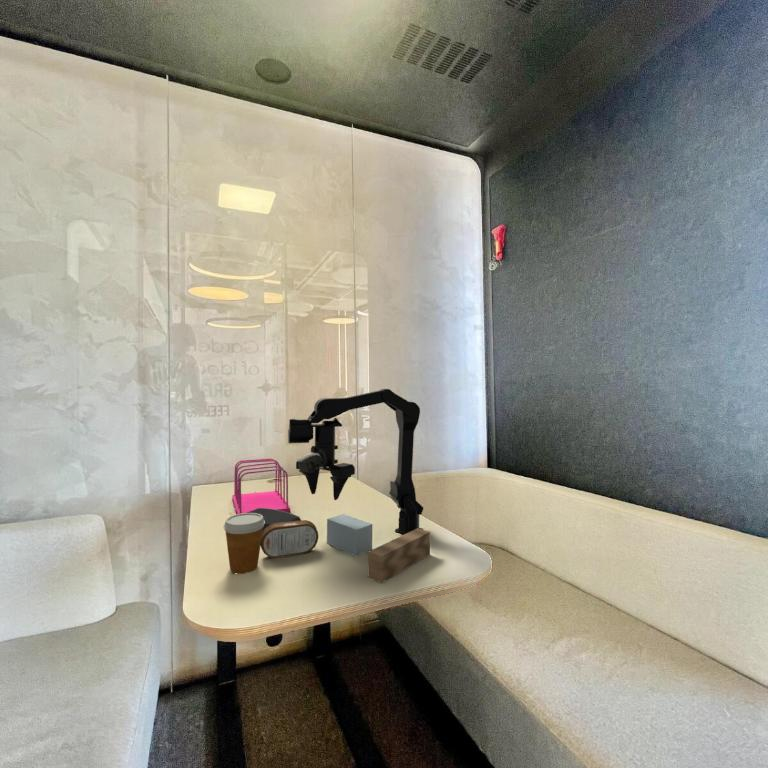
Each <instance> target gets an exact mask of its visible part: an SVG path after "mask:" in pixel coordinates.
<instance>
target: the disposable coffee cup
mask: <svg viewBox="0 0 768 768" xmlns="http://www.w3.org/2000/svg"><path fill="white" fill-rule="evenodd" d="M264 524H265V521H264V519H263V516H262V515H261V514H257V513H242V514H233V515H230V516H229V517H227V518H226V519H225V522H224V524H223V525H222V527H223V529H224V531H225V537H226V545H227V554H228V555H227V556H228V562H229V570H230V572H231V573H232V572H233V574H235V573H237V575H243V574H248V573H252V572H254V571H255V570H256V569H258V567H259V559H260V550H261V546H260V545H261V538H262V530H263V526H264Z"/></svg>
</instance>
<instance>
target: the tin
mask: <svg viewBox="0 0 768 768" xmlns="http://www.w3.org/2000/svg"><path fill="white" fill-rule="evenodd" d="M318 541H319V531H318V529H317V527H316V525H315V524H314V523H313V522H312V521H310V520H306V519H305V520H304V519H301V521H292V522H282V523H274V524H271V525H269V526H268V527H267V528H265V529H264V531H263V532H262V538H261V545H260V550H262V552H263V554H264V555H265V556H267V557H269V558H272V559H273V558H274V559H278V558H283V557H291V556H298V555H304V554H308V553H309V552H311V551H312V550H314V548H315V547H316V546H317V543H318Z"/></svg>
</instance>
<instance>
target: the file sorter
mask: <svg viewBox="0 0 768 768" xmlns="http://www.w3.org/2000/svg"><path fill="white" fill-rule="evenodd" d="M250 463H253V464H250ZM255 463H256V464H255ZM243 464H247V465H243ZM267 465H268V466H267ZM269 465H271V466H269ZM256 466H259V467H256ZM241 469H242V470H241ZM260 469H261V470H260ZM240 470H241V471H240ZM245 471H246V472H245ZM238 472H239V473H238ZM265 472H275V480H274V481H275V484H274V485H275V489H274V490H272V491H271V490H269V491H260V492H259V491H258V492H250V493H249V492H248V493H242V479H243V477H244V476H246V475H249V474H256V473H265ZM288 477H289V476H288V472H287V470H286V469H284V467H282V466H281V465H280V463H279V462H278V461H277V460H275V459H274V458H258V459H257V458H256V459H245V460H243V459H242V460H239V461H238V462H236V464H235V465H234V484H233V485H234V488H233V489H234V494H232V497H231V499H232V503H233V505H234V506H233V507H234V510H235V513H236V514H242V513H247V512H250V511H252V510H255V509H258V508H267V509H275V510H280V511H284V512H288V513H291V506H290V505H289V478H288ZM282 480H283V482H282ZM282 483H283V484H282ZM282 488H283V489H282ZM236 514H235V515H236Z"/></svg>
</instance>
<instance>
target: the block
mask: <svg viewBox="0 0 768 768" xmlns="http://www.w3.org/2000/svg"><path fill="white" fill-rule="evenodd" d="M326 544H328V545H329V546H333V547H334V548H337V549H339V550H341V551H344V552H345V553H348V554H351V555H352V556H354V557H357V556H360V555H362V554H364V553H366V552H369V551H371V550H373V523H370V522H368V521H366V520H365V521H364V520H362V519H358V518H356V517H354V516H353V517H352V516H350V515H348V514H344V513H342V514H339V515H336V516H335V515H334V516H332V517H328V518H327V519H326Z"/></svg>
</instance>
